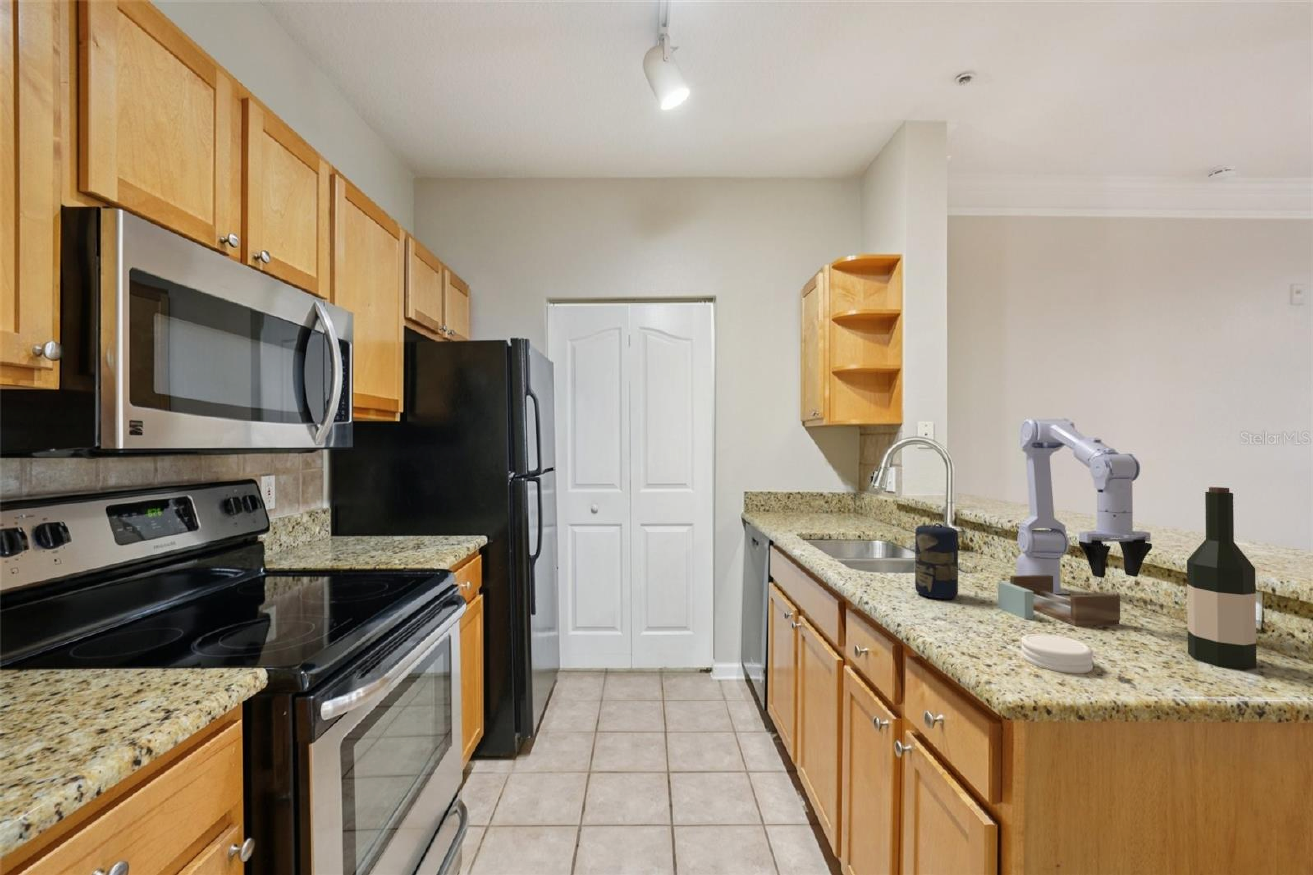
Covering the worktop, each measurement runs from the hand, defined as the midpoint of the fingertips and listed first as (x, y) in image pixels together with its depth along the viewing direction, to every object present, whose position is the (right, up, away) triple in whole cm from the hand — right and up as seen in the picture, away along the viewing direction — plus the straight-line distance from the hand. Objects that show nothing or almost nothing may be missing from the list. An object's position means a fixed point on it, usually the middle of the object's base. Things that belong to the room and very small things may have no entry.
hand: (1115, 576), depth 115 cm
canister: (-27, -10, +21) cm, 35 cm away
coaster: (-27, -10, -20) cm, 35 cm away
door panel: (-16, -10, +7) cm, 20 cm away
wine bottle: (+2, -10, -20) cm, 22 cm away
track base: (-6, -10, +8) cm, 14 cm away
